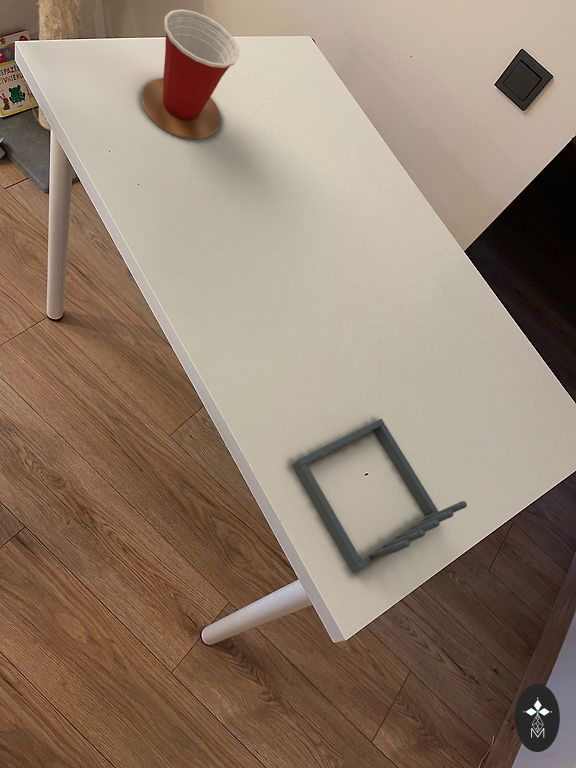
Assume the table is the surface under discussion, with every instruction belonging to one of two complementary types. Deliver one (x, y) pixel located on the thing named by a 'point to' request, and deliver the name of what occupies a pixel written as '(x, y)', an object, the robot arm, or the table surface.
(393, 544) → the grey square frame
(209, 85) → the plastic cup
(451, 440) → the table surface
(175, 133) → the wooden coaster
